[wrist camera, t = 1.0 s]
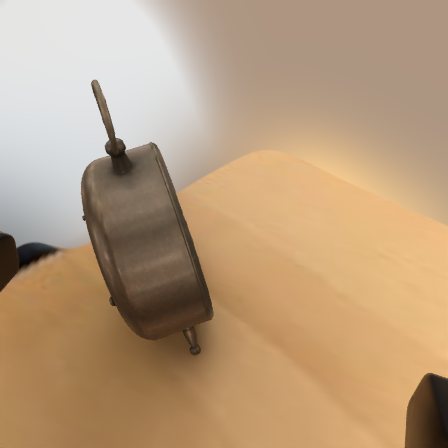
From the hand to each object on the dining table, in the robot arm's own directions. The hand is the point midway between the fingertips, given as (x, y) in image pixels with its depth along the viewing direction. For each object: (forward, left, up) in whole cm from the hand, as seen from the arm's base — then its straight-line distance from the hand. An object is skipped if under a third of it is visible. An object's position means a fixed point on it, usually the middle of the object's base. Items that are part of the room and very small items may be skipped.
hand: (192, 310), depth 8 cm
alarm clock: (+11, +5, -16) cm, 20 cm away
